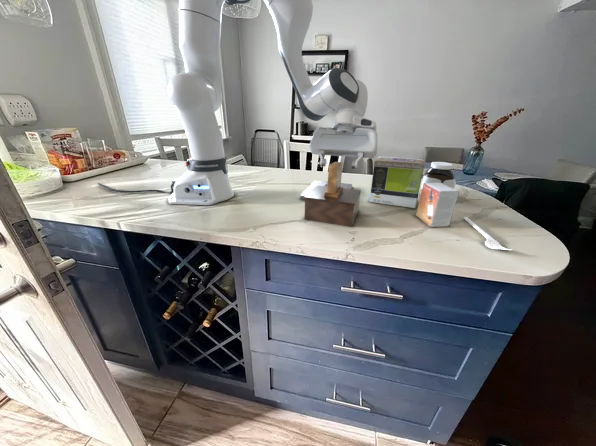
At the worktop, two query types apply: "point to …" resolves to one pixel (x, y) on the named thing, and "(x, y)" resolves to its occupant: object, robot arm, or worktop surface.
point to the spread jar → (440, 174)
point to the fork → (487, 237)
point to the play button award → (321, 183)
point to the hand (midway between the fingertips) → (337, 166)
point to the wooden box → (332, 206)
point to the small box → (436, 204)
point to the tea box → (396, 181)
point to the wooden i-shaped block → (334, 180)
